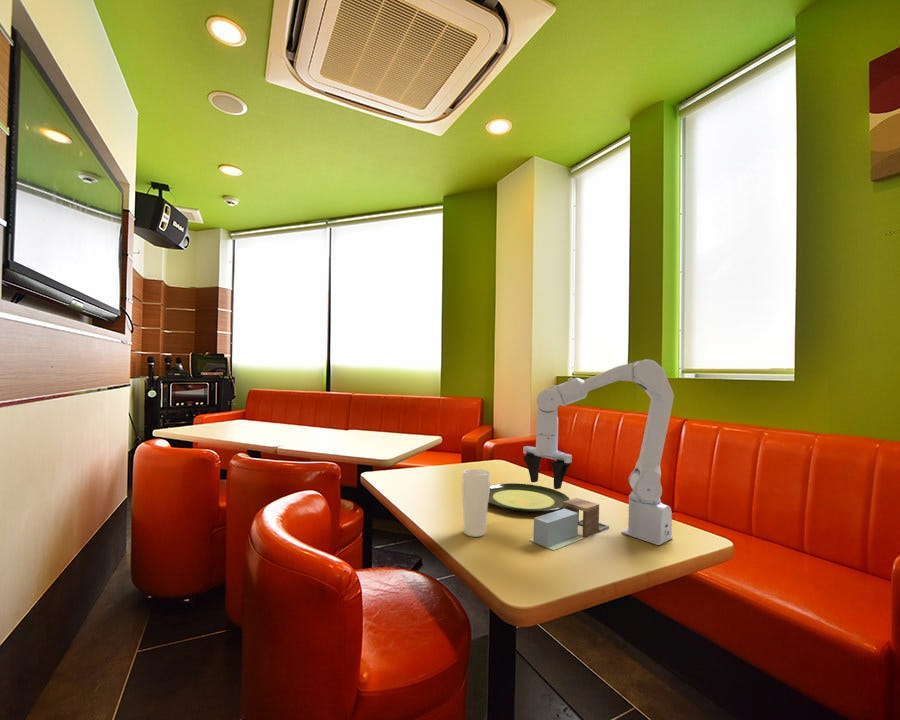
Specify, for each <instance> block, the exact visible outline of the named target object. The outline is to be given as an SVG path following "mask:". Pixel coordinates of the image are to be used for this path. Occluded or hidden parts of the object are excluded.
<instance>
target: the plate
mask: <svg viewBox="0 0 900 720" xmlns="http://www.w3.org/2000/svg"><path fill="white" fill-rule="evenodd" d="M518 498H519V499H527V500H529V501H530V503H527V504H522V503H518V502H515V501H514V500H515V499H518ZM567 500H571V498H569V496H568V495H566V494H565V493H563V492H561V491H559V490H557V489H553V488H549V487H546V486H541V485H536V484H530V483H529V484H528V483H517V482H516V483H515V482H514V483H513V482H511V483H509V482H508V483H495V484H490V491H489V500H488V504H490V505H492V506H494V507H496V508H497V507H498V508H500V509H503V510H509V511H513V512H521V513H522V512H523V513H535V514H536V513H537V514H538V513H539V514H540V513H552V512H555V511H558V510H561V509H563V502H564V501H567Z"/></svg>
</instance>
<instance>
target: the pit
mask: <svg viewBox="0 0 900 720" xmlns="http://www.w3.org/2000/svg"><path fill="white" fill-rule="evenodd" d="M578 526H582V527H583V519H580V520H579V525H578ZM609 529H610V525H607V524H604V523H601V522H599V532H598V533H601V532H603V531H606V530H609Z"/></svg>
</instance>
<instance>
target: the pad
mask: <svg viewBox="0 0 900 720" xmlns="http://www.w3.org/2000/svg"><path fill="white" fill-rule="evenodd" d="M584 538H585V537H583V536H580V535H578V536H576V537H573V538H570V539H568V540H565V541H563V542H560V543H558V544H555V545H552V546H550V547H545V546H543V545H540V544H538V543H535V542H533V537H532V538H530V539H528V540H529V541H530V542H532V543H535V544H537V545H539V546H541V547H544V548H546V549H549V550H551V551H553V552H554V551H556V549H557V550H559V549H562V548H564V547H566V545H567V546H569V545H571V544H572V545H573V544H574V543H576V541H577V542H579V541H582V540H584ZM581 539H582V540H581Z"/></svg>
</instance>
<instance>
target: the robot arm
mask: <svg viewBox="0 0 900 720" xmlns="http://www.w3.org/2000/svg"><path fill="white" fill-rule="evenodd" d="M618 381H623V382H633V383H634V384H636V385H637V386H639V387H640V388H641V389H642V390H643V391H644V392H645V393H646V395H647V396H648V397H649V398H650V402H649V407H648V413H647V418H646V421H645V427H644V432H643V433H644V434H643V437H642V442H641V447H640V451H639V456H638V459H637V461H636V463H635V467H634V469H633V471H632V472H630V474H629V477H628V484H629V486H630V488H631V489H632V491H631V492H630V494H628V521H627V522H628V525H627V526H628V527H627V528H625V529H623V530H621V531H620V532H621V534H624V535H627V536H629V537H633V538H635V539H638V540H642V541H645V542H648V543H651V544H653V545H657V546H661V545H662V544H665V543H666V542H668V541H669V540H672V539H673V536H672V530H673V529H672V528H673V527H672V525H673V523H672V522H673V521H672V520H673V513H672V507H671V506H669V505H667V504H664V503H663V502H661V496H662V494H663V487H662V483H661V478H662V471H661V461H662V457H663V453H664V447H665V442H666V436H667V433H668V428H669V424H670V418H671V413H672V408H673V403H674V399H675V394H674V393H675V392H674V391H673V389H672V386H671V384H670V382H669V380H668V377H667V373H666V370H664V368H663V367H662V366H661V365H660V364H659V363H658V362H656V361H655V360H653V359H642V360H637V361H634V362H630V363H625V364H622V365H617V366H615V367H612V368H610V369H608V370H605V371H603V372H601V373H598V374H596V375H594V376H591V377H589V378H586V379H581V378H580V377H575V378H573V377H570V378H568V379H567V381H565V382H563V383H560V384H557V385H555V384H553V385H551V386H550V389H549V388H547V389H544V390H543V391H541V392H540V393H539V394H538V395H537V398H536V404H537V406H538V408H537V412H536V413H537V416H536V426H535V428H536V430H535V432H536V433H535V435H536V436H535V446H531V445H527V446H522V447H523V448H522V449H523V454H524V456H523V457H522V458H523V461H524V463H525V465H526V467H527V470H528V473H529V478H530V482H531V483H538V481H539V474H540V473H539V471H540V470H539V469H540V465H541V464H540V463H541V461H542V458H544V459H550V460H554V461H551V463H550V464H551V469H552V472H553V488H554V490H559V489H562V484H563V481H564V479H565V475H566V473H567V472H568V469H569V468H570V466H571V463H572V461H573V460H572V459H573V455H572V454H570V453H566V452H562V451H560V450H559V449H558V447H559V446H558V445H559V416H558V408H559V406H562V407H564V406H567V405H570V404H573V403H575V402H578V401H581V400H584V399H586V398H587V396H588V393H589V392H590V391H592V390H596V389H598V388H601V387H604V386H607V385H609V384H612V383H615V382H618Z"/></svg>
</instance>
